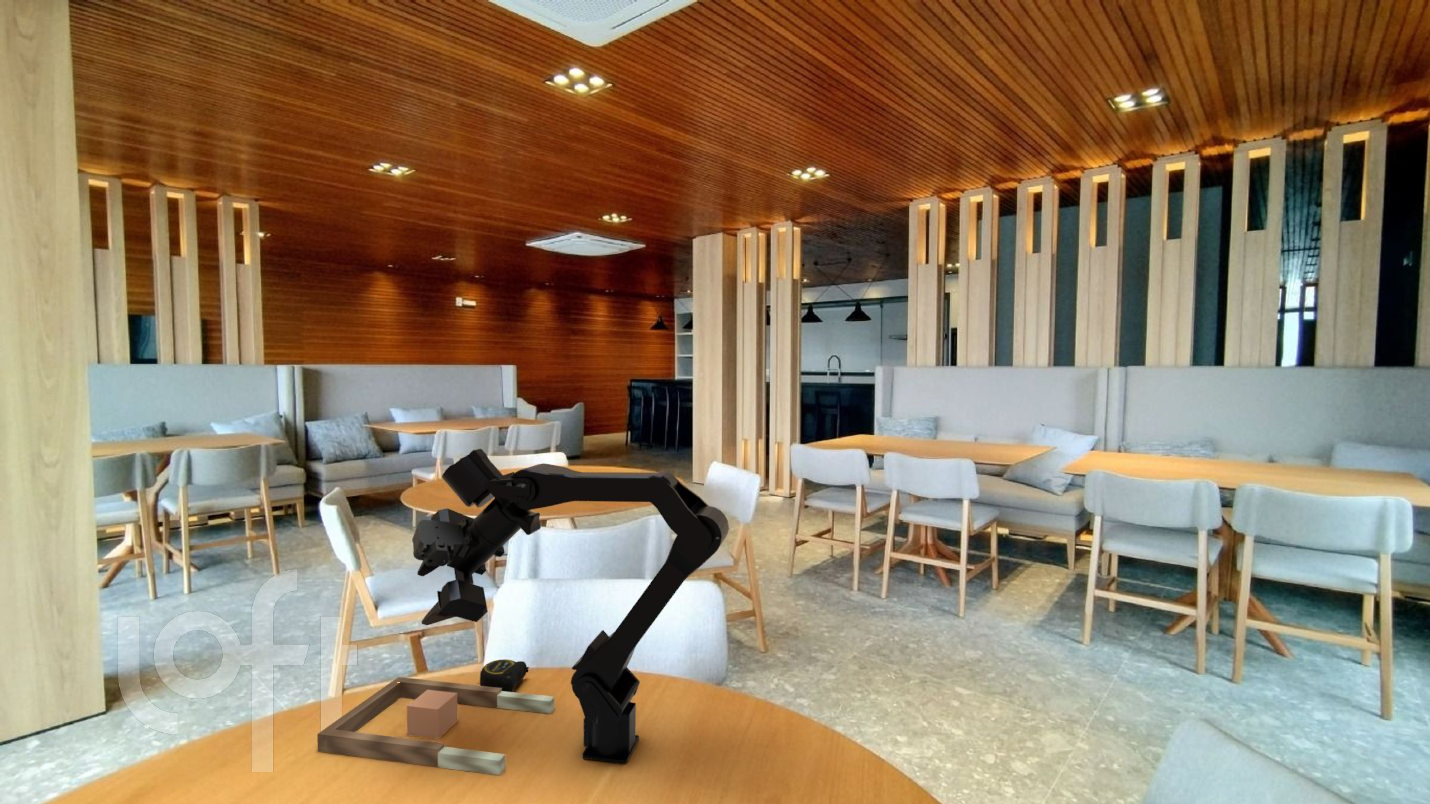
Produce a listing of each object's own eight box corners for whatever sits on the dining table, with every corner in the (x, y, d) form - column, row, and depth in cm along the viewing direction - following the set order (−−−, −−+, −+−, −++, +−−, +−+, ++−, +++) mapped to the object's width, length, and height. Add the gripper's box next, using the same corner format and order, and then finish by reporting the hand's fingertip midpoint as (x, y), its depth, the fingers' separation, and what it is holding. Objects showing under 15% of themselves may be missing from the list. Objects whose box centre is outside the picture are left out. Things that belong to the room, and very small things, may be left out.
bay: (554, 709, 105) (554, 693, 105) (499, 775, 88) (499, 757, 88) (398, 691, 110) (398, 676, 110) (317, 751, 93) (317, 733, 92)
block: (457, 721, 101) (457, 692, 101) (438, 739, 96) (437, 709, 96) (427, 718, 102) (427, 689, 102) (407, 735, 97) (406, 705, 97)
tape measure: (511, 699, 108) (511, 677, 108) (472, 696, 109) (472, 674, 109) (528, 680, 115) (528, 659, 115) (491, 677, 116) (491, 656, 116)
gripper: (437, 467, 97) (370, 536, 100) (450, 562, 84) (372, 639, 86) (498, 494, 105) (434, 557, 107) (518, 585, 91) (445, 655, 94)
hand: (422, 598), depth 98 cm, fingers open, 9 cm apart
